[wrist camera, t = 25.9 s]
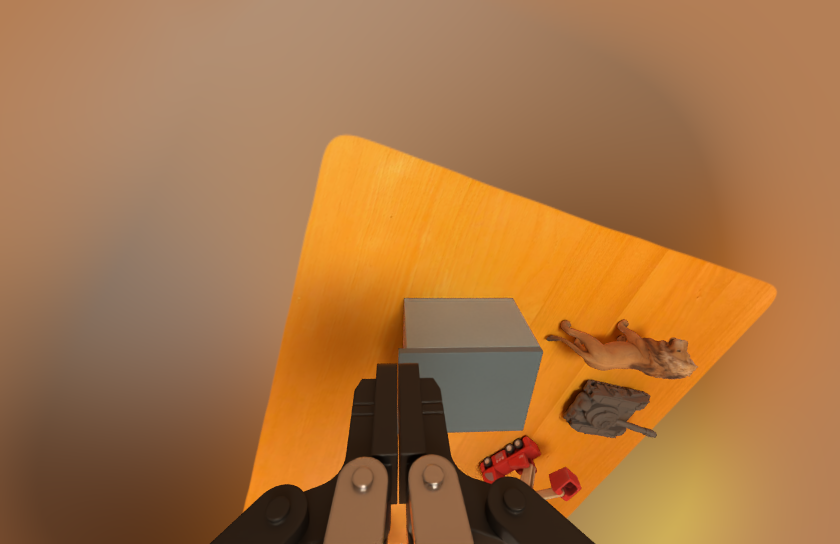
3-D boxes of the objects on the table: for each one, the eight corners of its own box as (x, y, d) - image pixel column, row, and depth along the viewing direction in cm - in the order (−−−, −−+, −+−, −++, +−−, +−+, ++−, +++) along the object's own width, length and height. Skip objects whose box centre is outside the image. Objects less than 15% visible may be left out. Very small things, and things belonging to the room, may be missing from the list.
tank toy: (652, 387, 53) (677, 415, 48) (618, 428, 57) (637, 458, 52) (584, 371, 51) (604, 400, 46) (553, 416, 55) (568, 446, 50)
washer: (402, 369, 48) (404, 427, 40) (404, 298, 43) (406, 347, 35) (499, 368, 49) (520, 424, 41) (512, 297, 44) (540, 346, 36)
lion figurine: (656, 307, 46) (711, 353, 38) (648, 339, 49) (698, 388, 41) (546, 321, 46) (578, 369, 38) (543, 352, 48) (573, 404, 40)
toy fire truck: (476, 462, 59) (490, 526, 50) (545, 421, 55) (572, 482, 47) (488, 470, 60) (503, 534, 51) (556, 431, 56) (584, 492, 48)
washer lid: (397, 428, 40) (397, 434, 39) (398, 348, 35) (398, 353, 34) (520, 424, 41) (522, 430, 40) (540, 346, 36) (543, 351, 35)
